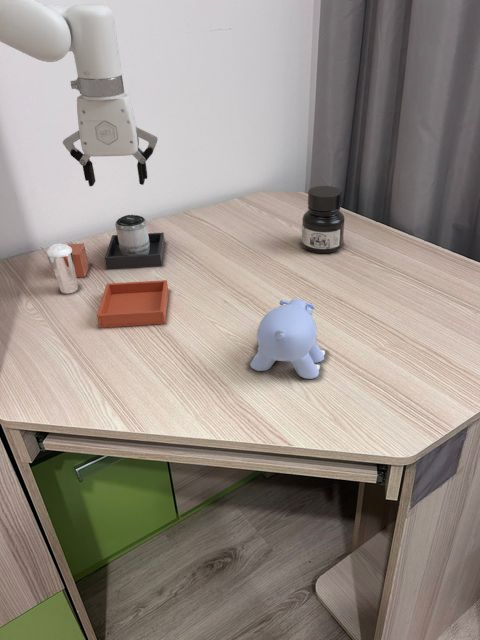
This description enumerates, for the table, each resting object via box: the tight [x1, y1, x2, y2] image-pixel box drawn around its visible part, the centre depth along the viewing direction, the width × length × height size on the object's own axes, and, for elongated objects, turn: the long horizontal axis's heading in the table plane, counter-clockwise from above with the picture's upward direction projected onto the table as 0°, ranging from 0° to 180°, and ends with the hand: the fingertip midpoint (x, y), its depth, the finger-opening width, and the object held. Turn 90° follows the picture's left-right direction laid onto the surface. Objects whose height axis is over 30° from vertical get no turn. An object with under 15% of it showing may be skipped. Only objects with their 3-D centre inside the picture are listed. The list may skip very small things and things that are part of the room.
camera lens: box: [114, 214, 150, 256], centre depth 112 cm, size 6×6×8 cm
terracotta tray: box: [96, 279, 170, 329], centre depth 97 cm, size 11×11×2 cm
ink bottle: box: [301, 185, 345, 254], centre depth 114 cm, size 10×9×12 cm
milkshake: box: [40, 243, 79, 295], centre depth 100 cm, size 4×5×10 cm
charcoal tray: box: [104, 232, 166, 270], centre depth 114 cm, size 11×11×2 cm
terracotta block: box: [65, 243, 90, 278], centre depth 108 cm, size 5×5×5 cm
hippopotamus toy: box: [249, 298, 326, 380], centre depth 82 cm, size 11×15×10 cm
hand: (117, 183), depth 105 cm, fingers open, 9 cm apart
